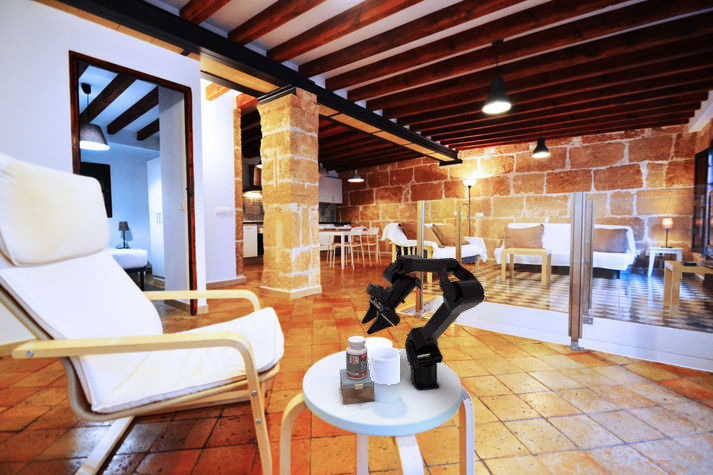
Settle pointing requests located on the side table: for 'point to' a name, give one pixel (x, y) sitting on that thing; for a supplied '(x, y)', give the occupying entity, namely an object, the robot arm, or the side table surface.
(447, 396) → the side table surface
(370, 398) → the walnut box
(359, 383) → the box lid
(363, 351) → the pill bottle
